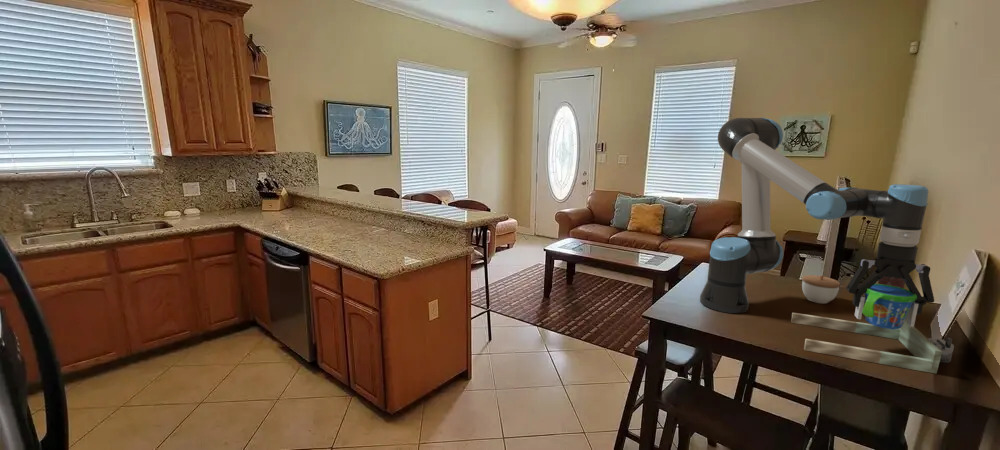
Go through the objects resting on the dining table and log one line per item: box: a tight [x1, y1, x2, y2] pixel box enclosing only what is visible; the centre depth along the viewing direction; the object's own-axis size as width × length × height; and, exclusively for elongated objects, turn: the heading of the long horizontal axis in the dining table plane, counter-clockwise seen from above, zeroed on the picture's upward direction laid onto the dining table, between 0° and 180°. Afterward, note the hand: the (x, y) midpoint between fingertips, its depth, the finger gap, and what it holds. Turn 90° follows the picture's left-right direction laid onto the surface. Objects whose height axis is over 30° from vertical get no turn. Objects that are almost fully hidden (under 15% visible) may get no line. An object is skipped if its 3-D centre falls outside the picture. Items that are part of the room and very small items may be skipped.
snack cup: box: [862, 283, 917, 330], centre depth 113 cm, size 16×10×10 cm
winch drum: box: [927, 337, 955, 364], centre depth 109 cm, size 5×6×7 cm
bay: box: [790, 312, 942, 374], centre depth 118 cm, size 27×20×6 cm
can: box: [877, 276, 905, 289], centre depth 136 cm, size 6×6×14 cm
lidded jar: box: [801, 274, 841, 305], centre depth 149 cm, size 11×11×9 cm
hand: (883, 320), depth 114 cm, fingers closed on snack cup, 10 cm apart
